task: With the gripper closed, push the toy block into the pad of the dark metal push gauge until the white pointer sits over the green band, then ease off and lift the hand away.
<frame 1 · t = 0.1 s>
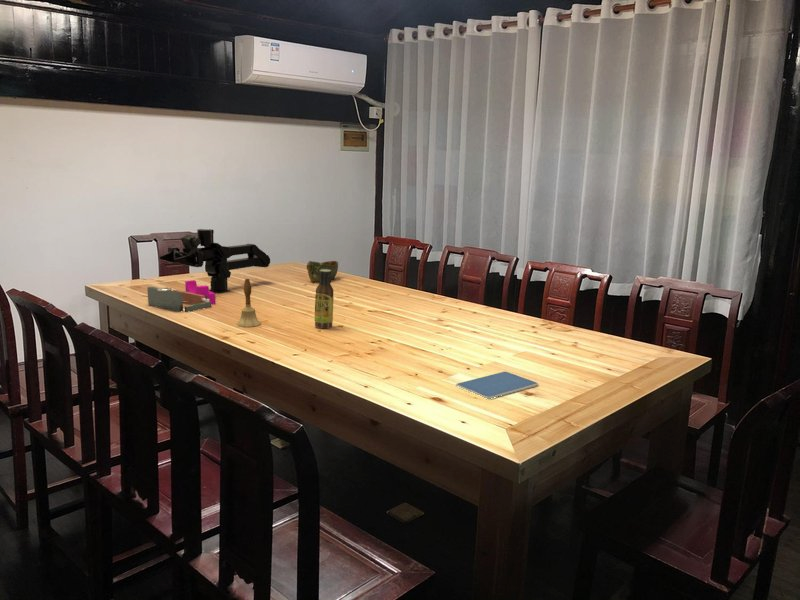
hand: (167, 259, 254), 17 cm above the table, tool horizontal, fingers open, 9 cm apart
toy block: (200, 302, 258), on the table
hand bell: (248, 324, 225), on the table
dark green lobed piece: (321, 281, 310), on the table
blue notebook: (496, 388, 170), on the table
gauge plunger: (190, 297, 252), point 3 cm above the table, slide at 0.1 cm
sauce bottle: (323, 327, 224), on the table
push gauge: (177, 305, 249), on the table
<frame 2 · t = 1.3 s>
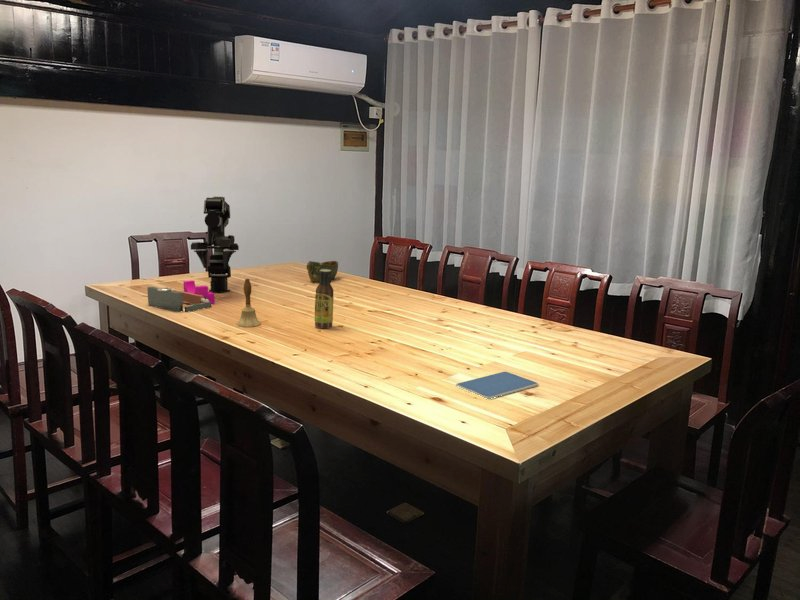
hand: (215, 268, 261), 12 cm above the table, tool pointing down, fingers open, 9 cm apart
gauge plunger: (190, 297, 251), point 3 cm above the table, slide at 0.6 cm
everything else where it was.
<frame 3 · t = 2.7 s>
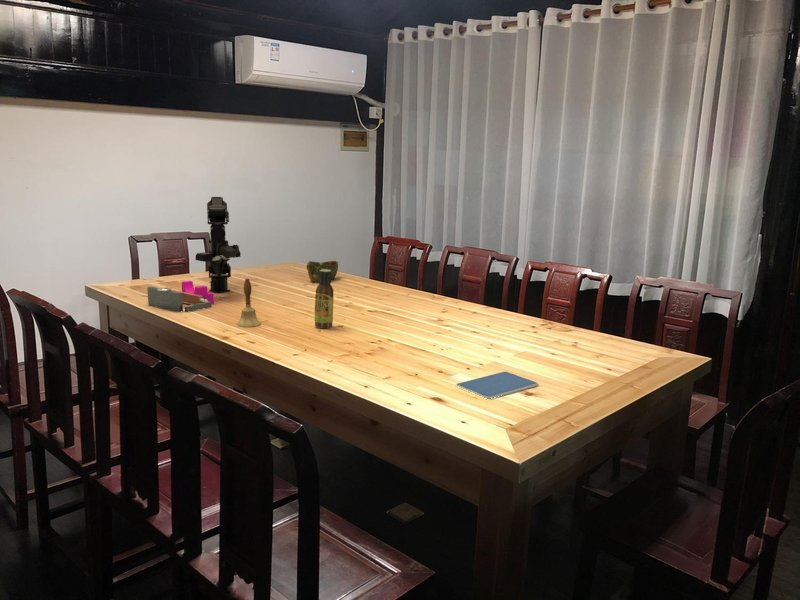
hand: (219, 276, 264), 9 cm above the table, tool pointing down, fingers closed
gauge plunger: (189, 297, 251), point 3 cm above the table, slide at 1.0 cm
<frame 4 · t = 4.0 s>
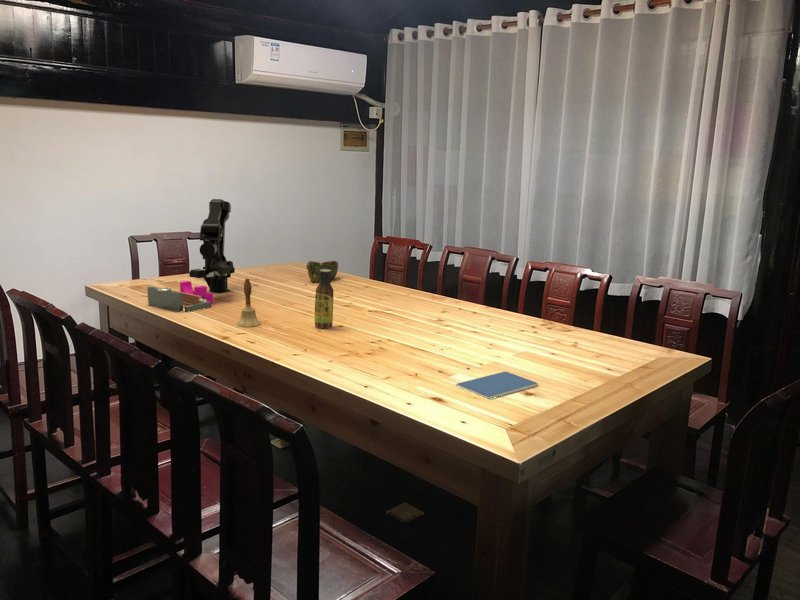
hand: (213, 292, 262), 3 cm above the table, tool pointing down, fingers closed
gauge plunger: (188, 297, 250), point 3 cm above the table, slide at 1.5 cm
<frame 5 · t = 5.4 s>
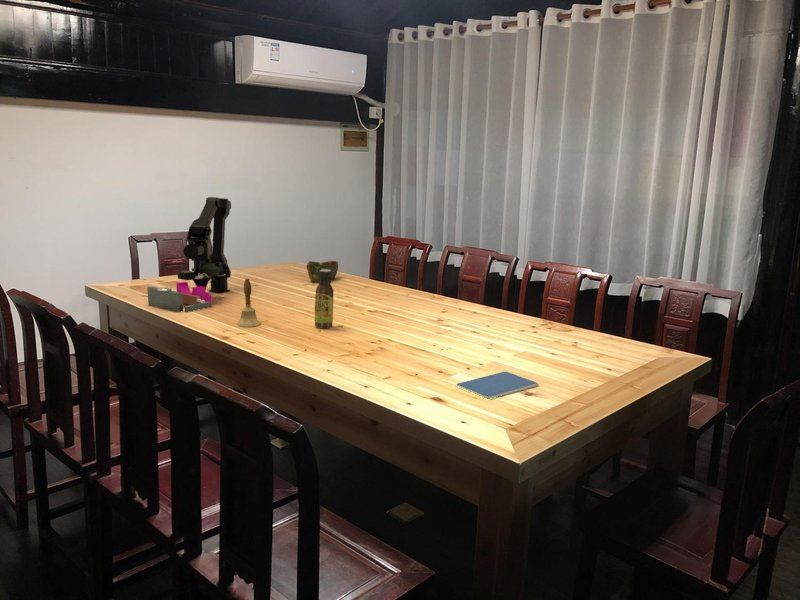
hand: (202, 294, 258), 3 cm above the table, tool pointing down, fingers closed
toy block: (194, 303, 255), on the table, touching gauge plunger, gripper
gauge plunger: (186, 297, 250), point 3 cm above the table, slide at 2.3 cm, touching toy block
everything else where it was.
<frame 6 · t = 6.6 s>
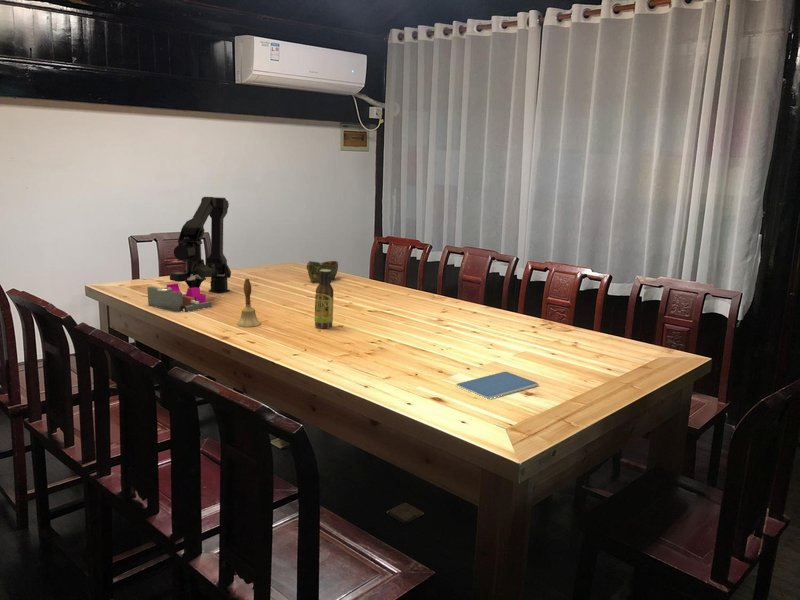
hand: (195, 296, 255), 3 cm above the table, tool pointing down, fingers closed
toy block: (186, 305, 252), on the table
gauge plunger: (180, 299, 248), point 3 cm above the table, slide at 5.0 cm
everything else where it was.
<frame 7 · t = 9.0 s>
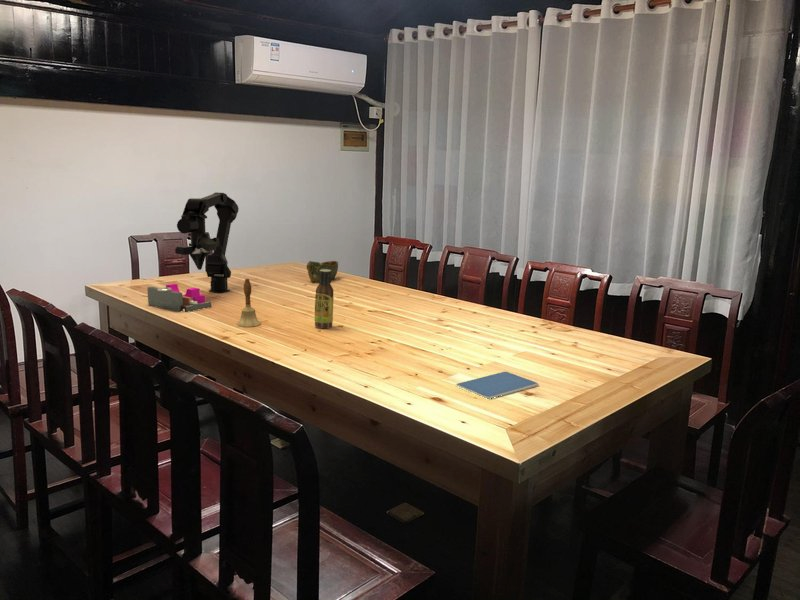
hand: (199, 269, 260), 12 cm above the table, tool pointing down, fingers closed
gauge plunger: (178, 299, 247), point 3 cm above the table, slide at 5.7 cm
everything else where it was.
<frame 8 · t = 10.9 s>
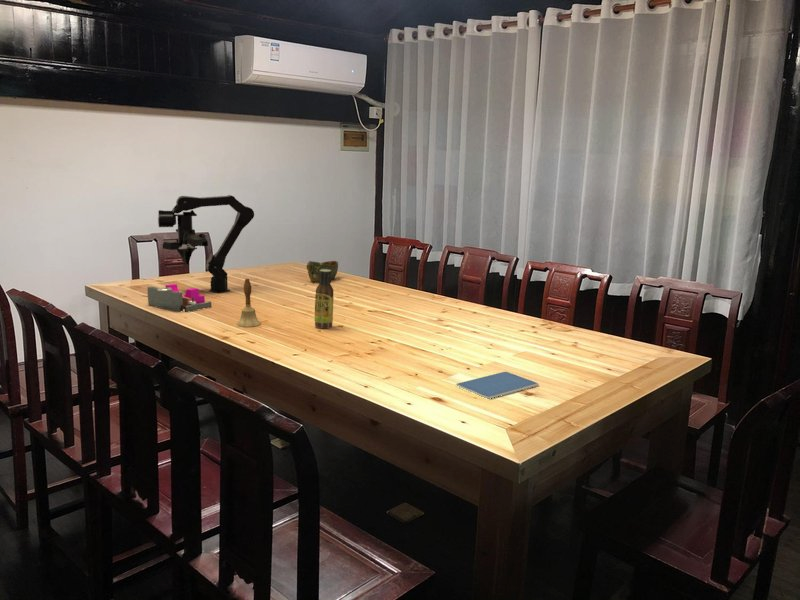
hand: (186, 264, 270), 12 cm above the table, tool pointing down, fingers closed
gauge plunger: (177, 299, 246), point 3 cm above the table, slide at 6.3 cm
at the end: gauge plunger slide at 6.3 cm; toy block inside the target area (1.6 cm from its centre), on the table; toy block tilted 0° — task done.
